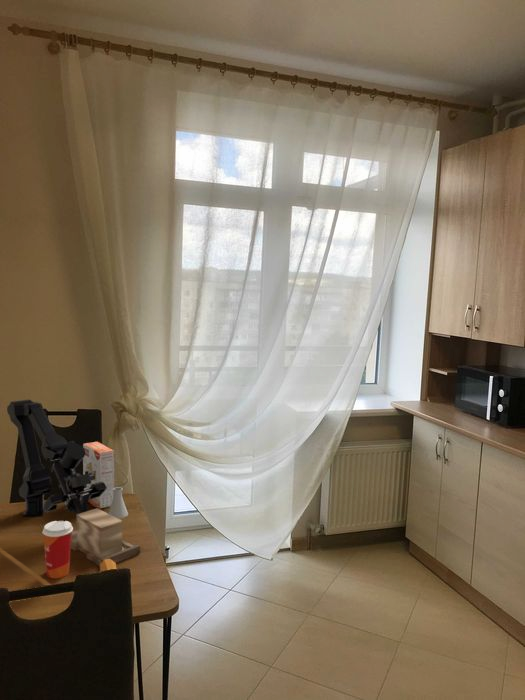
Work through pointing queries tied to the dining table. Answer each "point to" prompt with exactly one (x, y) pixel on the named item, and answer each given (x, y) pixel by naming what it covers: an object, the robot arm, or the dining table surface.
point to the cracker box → (100, 471)
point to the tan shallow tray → (126, 553)
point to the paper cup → (57, 548)
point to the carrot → (107, 565)
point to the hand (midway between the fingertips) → (86, 520)
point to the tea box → (99, 532)
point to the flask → (118, 504)
